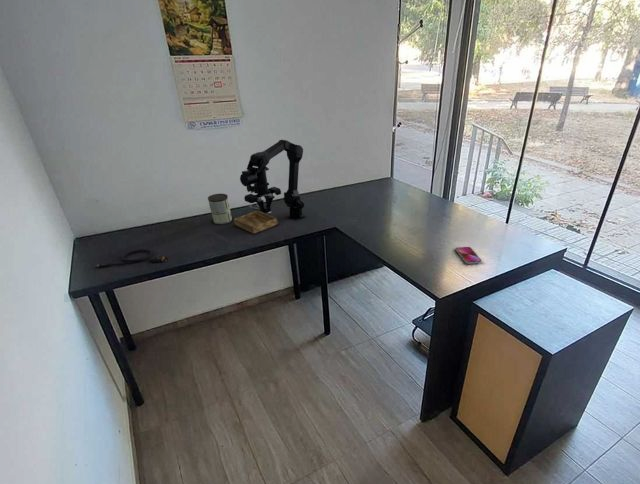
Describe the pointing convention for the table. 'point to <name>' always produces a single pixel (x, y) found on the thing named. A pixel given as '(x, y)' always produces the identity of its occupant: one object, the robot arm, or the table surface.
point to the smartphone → (468, 255)
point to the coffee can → (220, 208)
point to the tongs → (266, 209)
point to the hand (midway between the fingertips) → (265, 210)
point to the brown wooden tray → (255, 221)
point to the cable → (154, 259)
